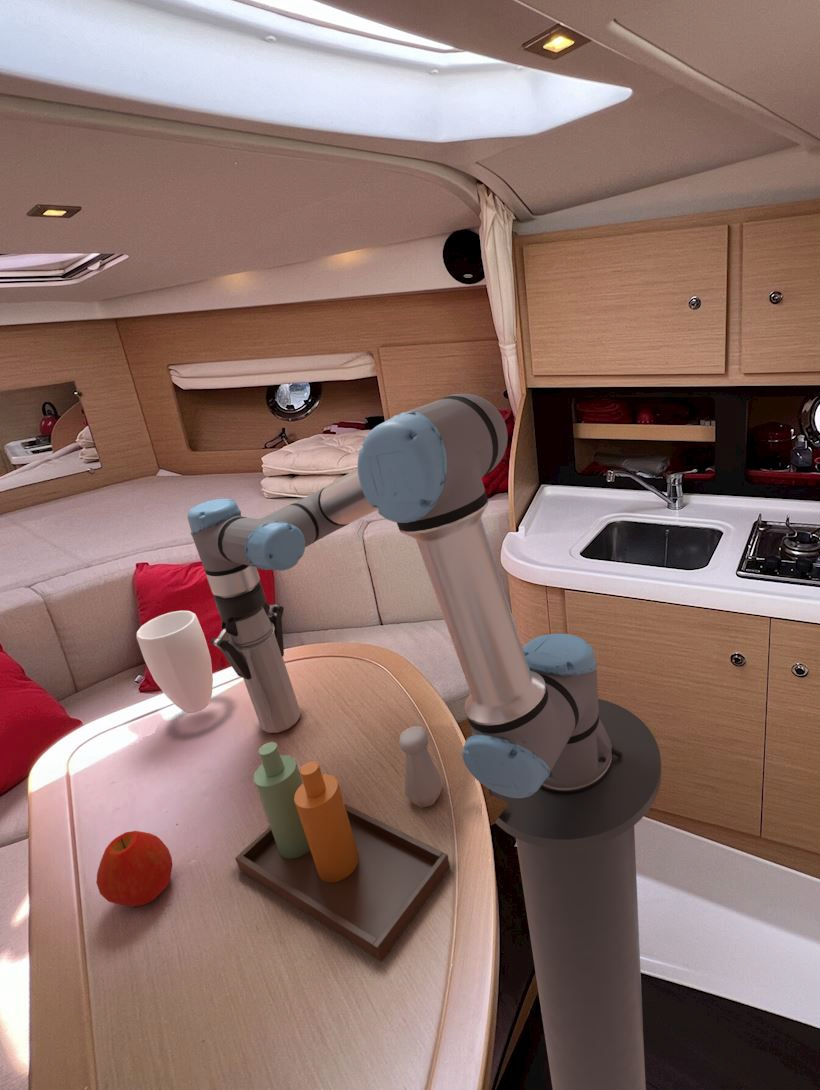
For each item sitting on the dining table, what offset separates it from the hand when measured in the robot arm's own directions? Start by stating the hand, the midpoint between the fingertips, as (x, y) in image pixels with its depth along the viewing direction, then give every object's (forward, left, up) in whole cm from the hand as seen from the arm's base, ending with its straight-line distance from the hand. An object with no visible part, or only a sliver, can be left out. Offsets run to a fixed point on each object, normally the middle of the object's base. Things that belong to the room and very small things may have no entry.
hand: (272, 698), depth 112 cm
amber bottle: (-13, +35, -6) cm, 37 cm away
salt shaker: (-26, +26, -7) cm, 37 cm away
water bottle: (0, 0, -7) cm, 7 cm away
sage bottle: (-7, +29, -6) cm, 30 cm away
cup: (+16, -8, -7) cm, 19 cm away
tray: (-14, +35, -6) cm, 38 cm away
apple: (+13, +30, -7) cm, 33 cm away
